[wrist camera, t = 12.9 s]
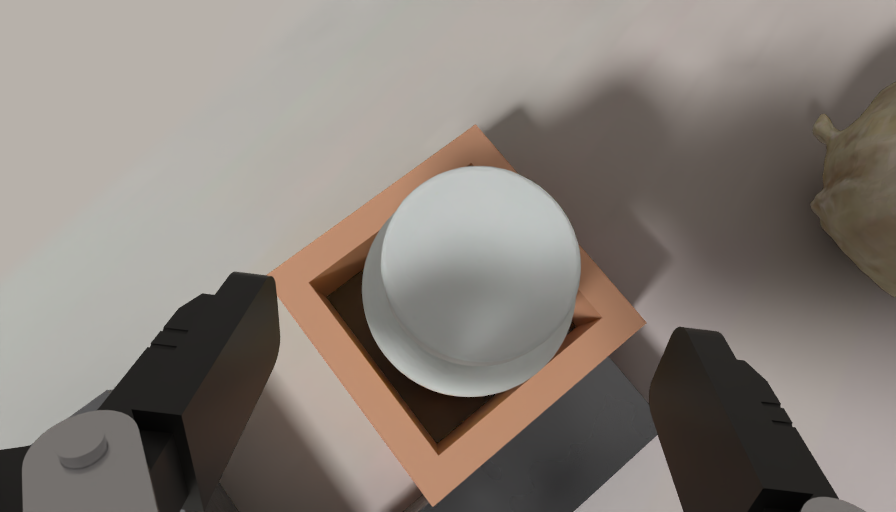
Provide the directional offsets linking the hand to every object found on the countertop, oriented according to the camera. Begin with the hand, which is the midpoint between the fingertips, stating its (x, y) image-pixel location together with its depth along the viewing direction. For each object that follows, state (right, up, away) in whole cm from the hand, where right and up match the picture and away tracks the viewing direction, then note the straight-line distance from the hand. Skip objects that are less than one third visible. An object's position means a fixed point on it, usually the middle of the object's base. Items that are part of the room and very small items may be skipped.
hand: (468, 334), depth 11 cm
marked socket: (0, 0, +9) cm, 9 cm away
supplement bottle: (0, -1, +9) cm, 9 cm away
